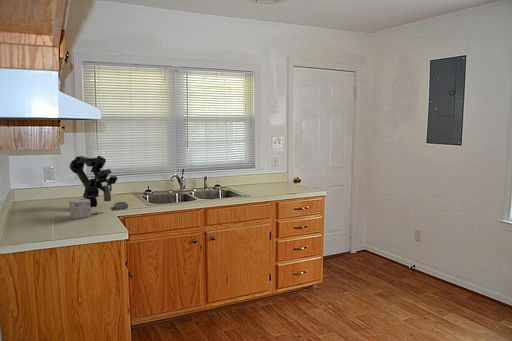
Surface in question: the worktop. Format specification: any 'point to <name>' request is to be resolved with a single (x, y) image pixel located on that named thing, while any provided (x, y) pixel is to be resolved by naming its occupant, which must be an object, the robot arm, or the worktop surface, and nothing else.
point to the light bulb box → (80, 208)
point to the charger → (107, 193)
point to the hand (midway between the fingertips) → (108, 191)
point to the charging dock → (120, 205)
